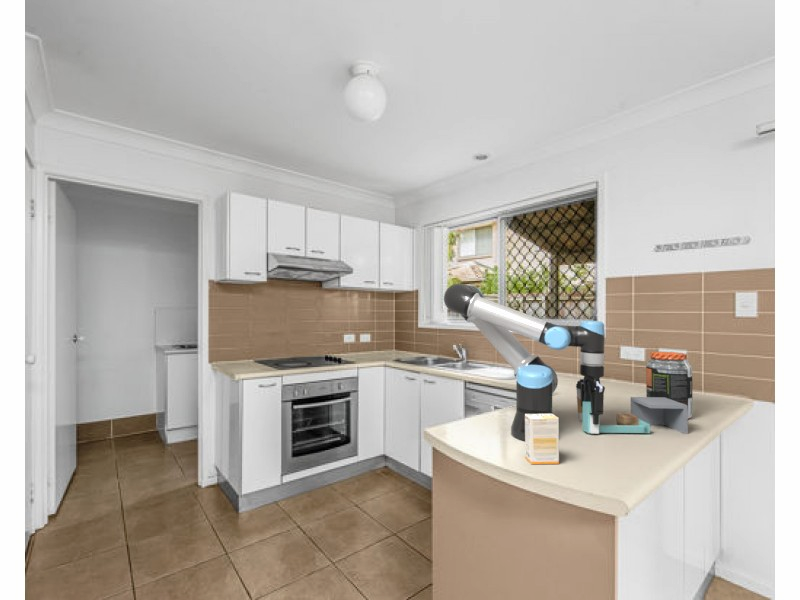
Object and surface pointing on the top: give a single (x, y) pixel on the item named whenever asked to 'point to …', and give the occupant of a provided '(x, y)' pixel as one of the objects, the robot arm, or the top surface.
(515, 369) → the robot arm
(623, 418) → the block
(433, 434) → the top surface
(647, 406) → the block
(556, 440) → the supplement box
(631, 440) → the top surface
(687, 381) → the supplement tub
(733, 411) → the top surface
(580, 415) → the coffee cup
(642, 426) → the teal cube-topped l-bracket
